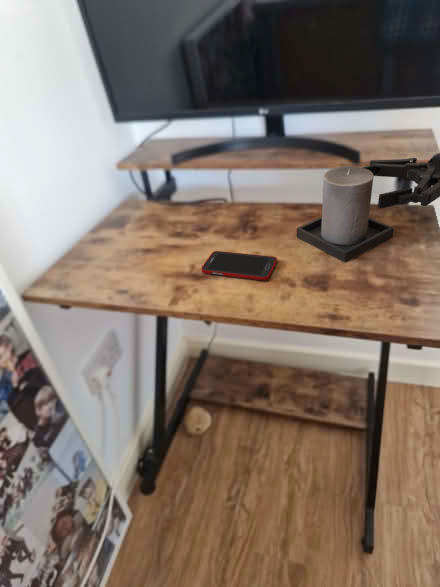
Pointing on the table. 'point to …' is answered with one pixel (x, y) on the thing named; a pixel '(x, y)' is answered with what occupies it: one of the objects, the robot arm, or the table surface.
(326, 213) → the pillar candle
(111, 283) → the table surface
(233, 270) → the cell phone
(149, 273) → the table surface
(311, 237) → the candle pad
